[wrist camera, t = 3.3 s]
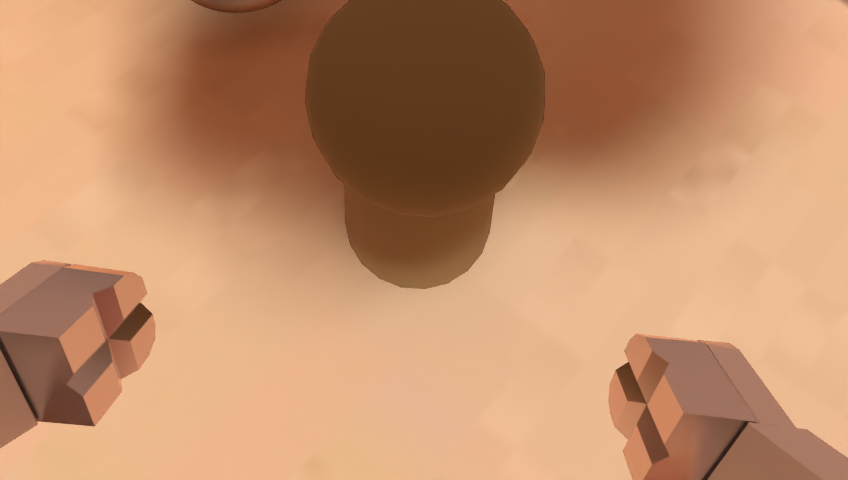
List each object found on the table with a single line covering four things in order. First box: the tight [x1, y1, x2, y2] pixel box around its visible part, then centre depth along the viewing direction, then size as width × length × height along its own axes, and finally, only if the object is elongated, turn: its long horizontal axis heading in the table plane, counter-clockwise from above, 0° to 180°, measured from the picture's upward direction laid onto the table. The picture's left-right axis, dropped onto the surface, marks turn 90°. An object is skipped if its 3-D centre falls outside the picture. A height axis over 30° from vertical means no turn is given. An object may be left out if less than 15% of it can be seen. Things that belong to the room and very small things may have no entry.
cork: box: [305, 0, 545, 289], centre depth 14 cm, size 6×6×11 cm
